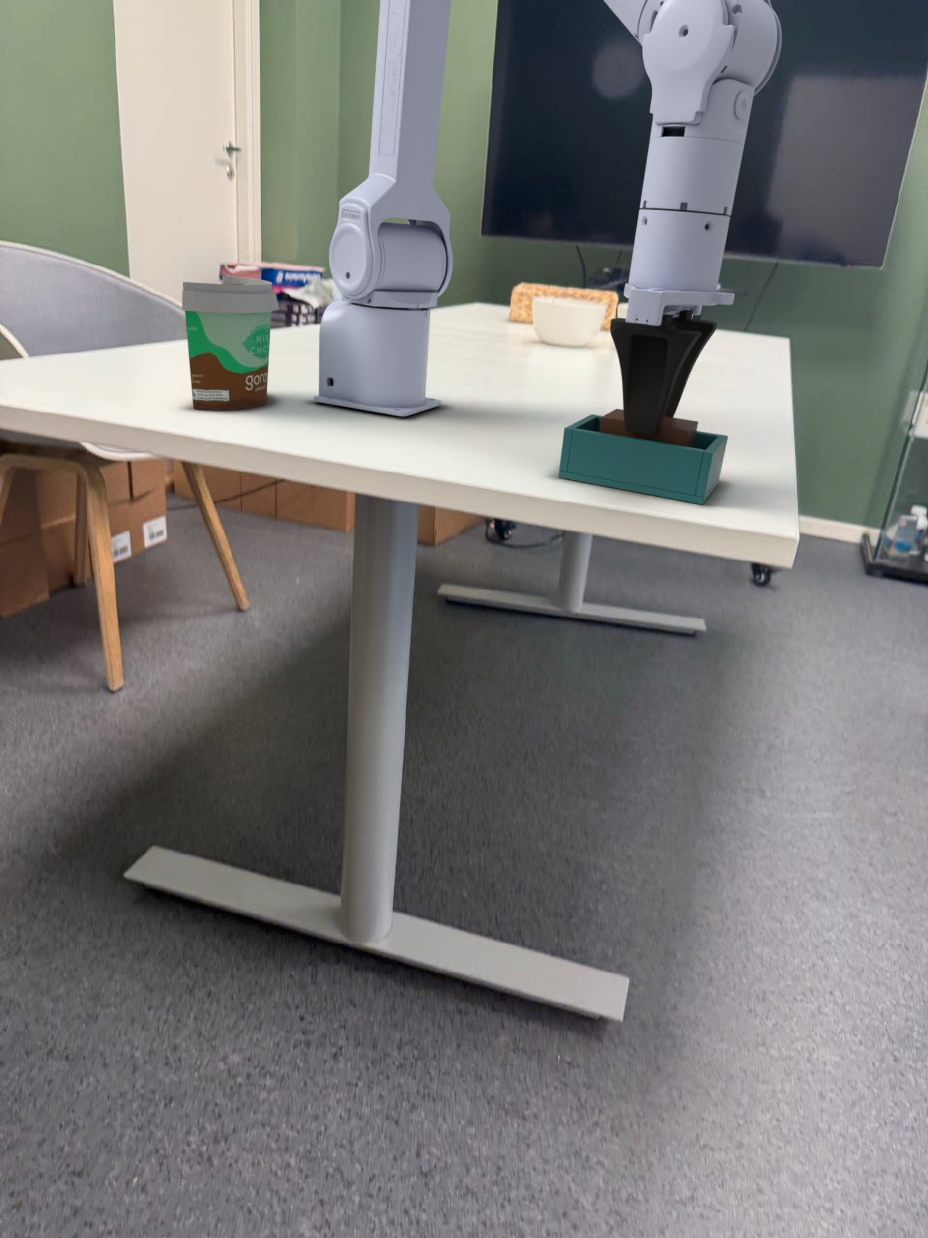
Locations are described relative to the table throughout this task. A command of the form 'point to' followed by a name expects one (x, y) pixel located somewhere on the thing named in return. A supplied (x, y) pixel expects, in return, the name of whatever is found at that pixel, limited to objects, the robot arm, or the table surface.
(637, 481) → the open storage box
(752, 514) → the table surface
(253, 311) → the food container
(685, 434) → the chocolate bar
